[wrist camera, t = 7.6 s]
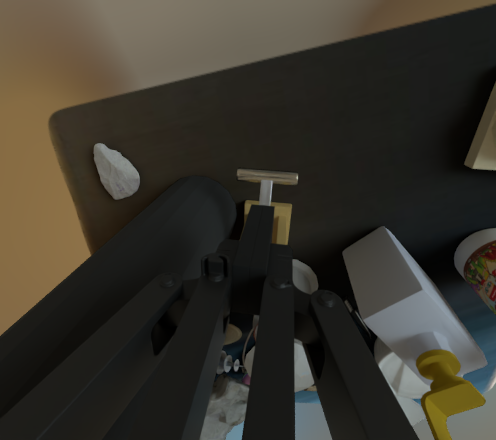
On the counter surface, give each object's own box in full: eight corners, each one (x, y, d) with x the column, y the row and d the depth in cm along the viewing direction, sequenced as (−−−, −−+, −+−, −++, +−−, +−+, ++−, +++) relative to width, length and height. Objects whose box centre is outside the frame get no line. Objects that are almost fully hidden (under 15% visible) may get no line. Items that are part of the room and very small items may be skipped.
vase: (223, 167, 36) (23, 424, 9) (246, 235, 40) (153, 555, 13) (152, 185, 38) (-168, 429, 12) (180, 248, 42) (-10, 537, 16)
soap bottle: (434, 282, 39) (601, 518, 18) (390, 305, 41) (491, 533, 21) (383, 222, 36) (510, 419, 15) (339, 250, 38) (395, 451, 18)
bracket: (245, 199, 37) (225, 252, 26) (291, 203, 37) (291, 259, 25) (244, 245, 40) (226, 309, 29) (286, 249, 40) (284, 317, 28)
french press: (332, 286, 41) (381, 527, 19) (278, 325, 46) (265, 553, 24) (283, 245, 39) (274, 460, 17) (231, 290, 44) (172, 503, 22)
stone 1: (117, 200, 40) (110, 205, 38) (84, 151, 37) (75, 154, 35) (150, 185, 39) (144, 189, 37) (118, 133, 36) (111, 135, 34)
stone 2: (276, 381, 39) (245, 468, 32) (240, 423, 58) (216, 482, 51) (184, 328, 41) (137, 397, 34) (179, 384, 61) (148, 436, 54)
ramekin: (354, 331, 44) (362, 361, 40) (428, 305, 40) (446, 335, 36) (385, 374, 48) (395, 406, 43) (456, 354, 44) (476, 387, 39)
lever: (240, 169, 30) (236, 165, 27) (297, 173, 29) (299, 170, 27) (230, 282, 30) (226, 288, 28) (286, 288, 30) (287, 295, 27)
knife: (376, 337, 45) (376, 338, 45) (366, 339, 45) (367, 341, 45) (351, 293, 42) (351, 294, 41) (341, 296, 42) (341, 298, 42)
